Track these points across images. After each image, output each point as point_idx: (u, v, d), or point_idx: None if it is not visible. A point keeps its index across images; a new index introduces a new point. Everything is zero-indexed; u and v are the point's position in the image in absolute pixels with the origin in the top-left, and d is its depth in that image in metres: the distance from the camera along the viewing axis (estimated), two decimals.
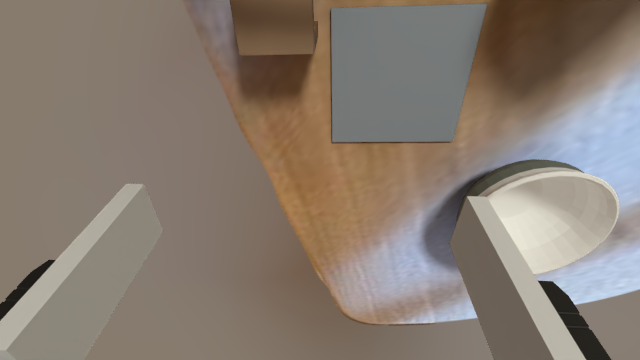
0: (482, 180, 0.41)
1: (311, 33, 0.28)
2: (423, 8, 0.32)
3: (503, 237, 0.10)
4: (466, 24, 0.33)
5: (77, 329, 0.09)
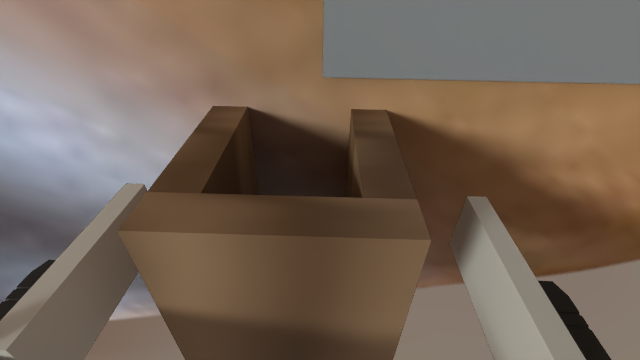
0: None
1: (356, 241, 0.07)
2: None
3: (503, 237, 0.10)
4: None
5: (77, 329, 0.09)
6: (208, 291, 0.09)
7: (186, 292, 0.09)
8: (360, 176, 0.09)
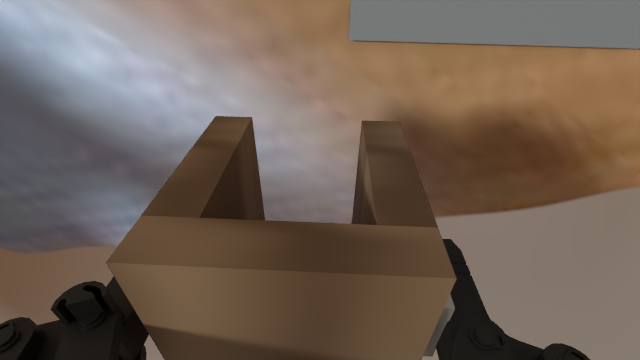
0: None
1: (372, 277, 0.07)
2: None
3: None
4: None
5: None
6: (207, 324, 0.08)
7: (182, 325, 0.08)
8: (374, 199, 0.09)
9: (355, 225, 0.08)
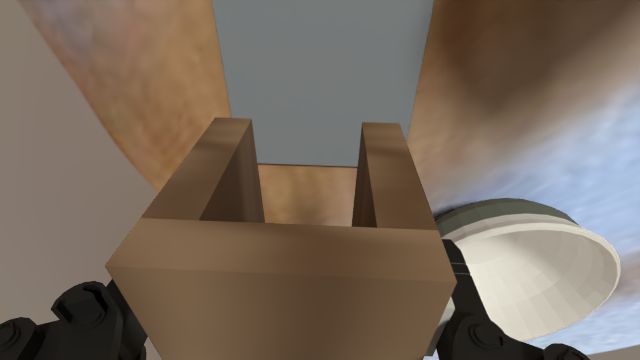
0: (438, 223, 0.30)
1: (372, 281, 0.07)
2: None
3: None
4: (410, 2, 0.22)
5: None
6: (206, 327, 0.08)
7: (181, 328, 0.08)
8: (374, 201, 0.09)
9: (355, 228, 0.08)
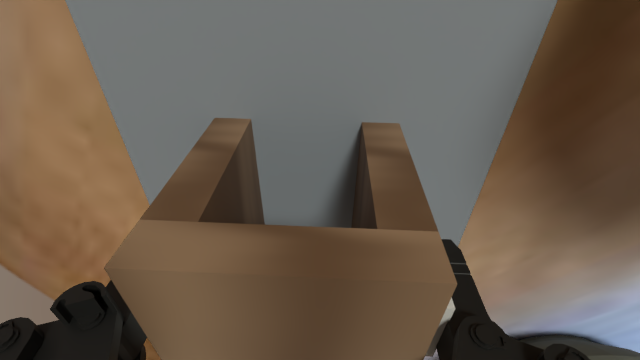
0: None
1: (372, 283, 0.07)
2: None
3: None
4: (487, 54, 0.11)
5: None
6: (206, 329, 0.08)
7: (181, 330, 0.08)
8: (374, 202, 0.09)
9: (355, 229, 0.08)
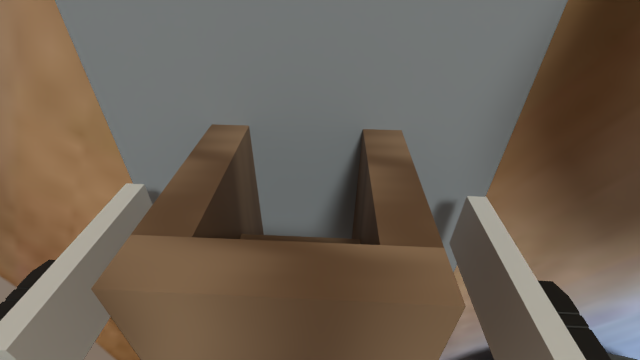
0: None
1: (375, 305, 0.06)
2: (354, 2, 0.10)
3: (503, 237, 0.10)
4: (492, 60, 0.10)
5: (77, 329, 0.09)
6: (200, 349, 0.08)
7: (174, 350, 0.08)
8: (376, 215, 0.08)
9: (357, 245, 0.07)
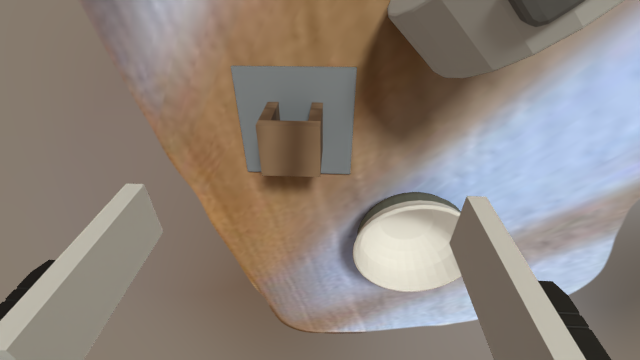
0: (373, 208, 0.47)
1: (305, 127, 0.36)
2: (305, 69, 0.39)
3: (503, 237, 0.10)
4: (343, 82, 0.40)
5: (77, 329, 0.09)
6: (272, 143, 0.37)
7: (266, 144, 0.37)
8: (309, 117, 0.38)
9: (303, 121, 0.37)
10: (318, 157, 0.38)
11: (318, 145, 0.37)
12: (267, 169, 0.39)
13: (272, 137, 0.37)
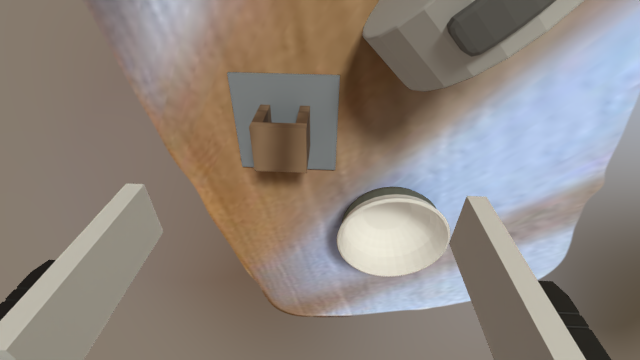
0: (355, 201, 0.53)
1: (292, 129, 0.41)
2: (294, 76, 0.44)
3: (503, 237, 0.10)
4: (327, 88, 0.45)
5: (77, 329, 0.09)
6: (263, 143, 0.42)
7: (258, 143, 0.42)
8: (296, 120, 0.43)
9: (291, 123, 0.42)
10: (304, 155, 0.43)
11: (304, 145, 0.42)
12: (259, 165, 0.44)
13: (264, 137, 0.42)
